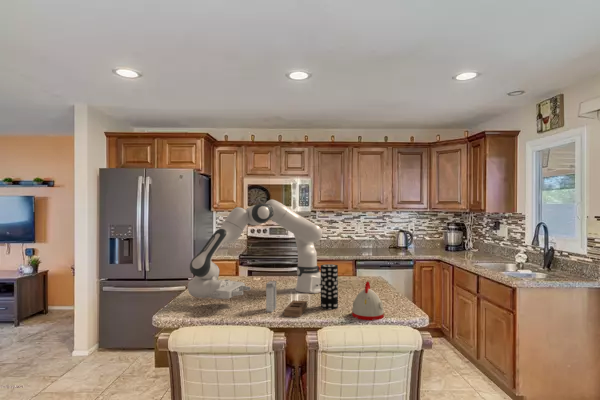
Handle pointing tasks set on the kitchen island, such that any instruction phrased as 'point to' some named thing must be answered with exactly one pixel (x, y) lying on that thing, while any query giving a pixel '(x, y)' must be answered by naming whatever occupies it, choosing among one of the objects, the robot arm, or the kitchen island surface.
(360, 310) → the kitchen timer
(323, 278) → the spotted tube
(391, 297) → the kitchen island surface
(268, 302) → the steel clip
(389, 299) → the kitchen island surface
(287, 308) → the brown slotted block
